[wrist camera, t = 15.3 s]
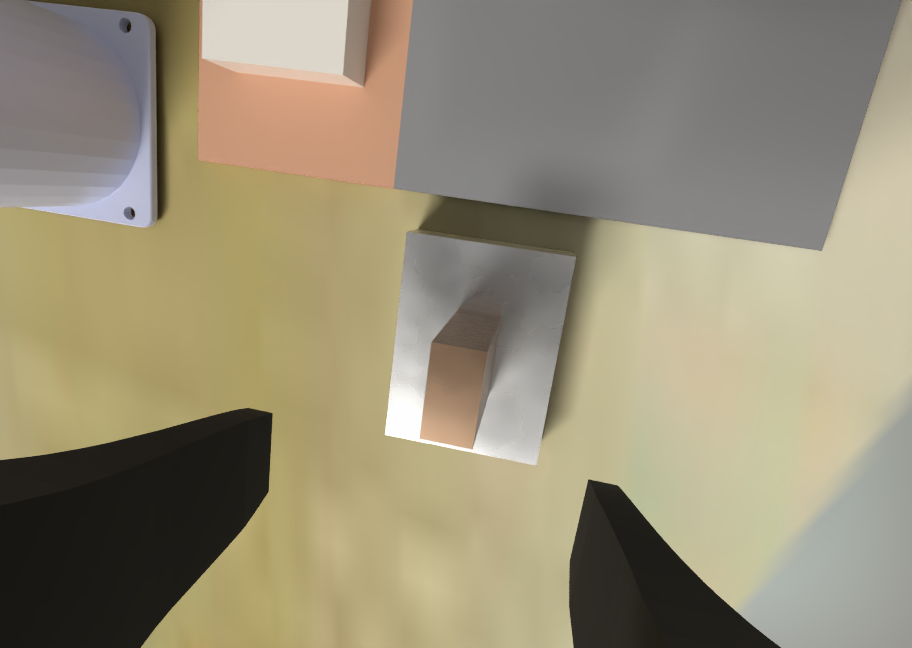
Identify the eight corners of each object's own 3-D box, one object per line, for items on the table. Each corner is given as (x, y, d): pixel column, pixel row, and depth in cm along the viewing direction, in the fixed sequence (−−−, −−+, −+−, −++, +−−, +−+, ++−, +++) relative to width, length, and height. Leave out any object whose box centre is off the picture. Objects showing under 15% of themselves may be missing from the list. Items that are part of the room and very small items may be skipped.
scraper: (399, 414, 23) (342, 496, 16) (419, 228, 20) (363, 241, 14) (537, 441, 22) (533, 539, 15) (573, 251, 20) (585, 275, 13)
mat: (206, 161, 21) (197, 160, 20) (210, -201, 18) (201, -212, 17) (814, 249, 18) (822, 250, 18) (944, -167, 15) (958, -178, 14)
